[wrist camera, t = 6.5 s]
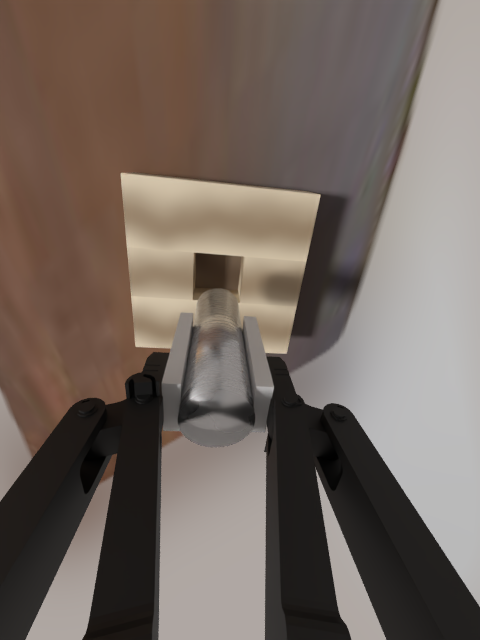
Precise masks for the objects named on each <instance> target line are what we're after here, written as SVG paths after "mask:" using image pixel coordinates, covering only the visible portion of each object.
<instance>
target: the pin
mask: <svg viewBox="0 0 480 640" xmlns="http://www.w3.org/2000/svg"><path fill="white" fill-rule="evenodd" d="M254 424H255V411H254V404H253V398H252V391H251V384H250V378H249V371H248V365H247V358H246V351H245V345H244V338H243V332H242V325H241V318H240V312H239V305H238V301H237V299H236V297H235V296H234V295H233V294H232V293H231V292H230V291H228V290H225V289H222V288H213V289H209V290H207V291H205V292H204V293H203V294H202V295H201V296H200V297H199V299H198V301H197V305H196V311H195V317H194V323H193V330H192V336H191V342H190V348H189V354H188V360H187V366H186V372H185V378H184V384H183V390H182V396H181V403H180V407H179V413H178V426H179V429H180V431H181V432H182V434H183V435H184V436H185V437H186V438H187V439H189V440H190V441H192V442H194V443H196V444H198V445H202V446H206V447H224V446H229V445H232V444H235V443H237V442H239V441H241V440H242V439H244V438H245V437H246V436H247V435H248V434H249V433H250V432H251V431H252V429H253V427H254Z"/></svg>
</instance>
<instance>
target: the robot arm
mask: <svg viewBox="0 0 480 640" xmlns="http://www.w3.org/2000/svg"><path fill="white" fill-rule="evenodd" d="M192 330H193V313H184V312H181V313H180V317H179V321H178V324H177V328H176V332H175V335H174V339H173V343H172V347H171V350H170V353H160V352H153V353H152V354H151V355H150V356H149V357H148V358H147V360H146V363H145V366H144V368H143V371H142V373H137V374H134V375H132V376H131V377H129V378H128V379H127V381H126V383H125V388H126V397H127V399H125V400H123V401H121V402H117V403H113V404H108V405H105V402H104V401H102V400H101V399H98V398H87V399H84V400H81V401H79V402H77V403H75V404H74V405H73V406H72V407H71V408H70V409H69V410H68V412H67V413H66V414H65V416H64V417H63V418H62V420H61V421H60V422H59V424H58V425H57V426H56V428H55V429H54V430H53V432H52V433H51V434H50V436H49V437H48V438H47V440H46V441H45V442H44V444H43V445H42V446H41V448H40V449H39V450H38V452H37V453H36V454H35V456H34V457H33V458H32V460H31V461H30V462H29V464H28V465H27V467H26V468H25V469H24V470H23V472H22V473H21V474H20V476H19V477H18V478H17V480H16V481H15V483H14V484H13V485H12V487H11V488H10V489H9V491H8V492H7V493H6V495H5V496H4V497H3V499H2V500H1V502H0V640H25V639H26V637H27V635H28V632H29V631H30V628H31V626H32V624H33V622H34V620H35V618H36V615H37V614H38V611H39V609H40V607H41V605H42V603H43V601H44V599H45V597H46V594H47V592H48V590H49V587H50V586H51V584H52V582H53V580H54V577H55V575H56V573H57V571H58V569H59V566H60V565H61V563H62V561H63V558H64V556H65V554H66V552H67V550H68V548H69V546H70V544H71V541H72V539H73V537H74V535H75V533H76V531H77V528H78V527H79V524H80V522H81V520H82V518H83V516H84V514H85V512H86V510H87V507H88V505H89V503H90V501H91V499H92V497H93V495H94V493H95V490H96V488H97V486H98V484H99V482H100V480H101V478H102V476H103V473H104V471H105V469H106V467H107V465H108V463H109V461H110V459H111V456H112V455H113V454H116V453H117V459H116V465H115V471H114V477H113V483H112V489H111V495H110V500H109V507H108V513H107V518H106V524H105V530H104V536H103V542H102V547H101V553H100V560H99V565H98V571H97V577H96V583H95V589H94V595H93V601H92V606H91V612H90V618H89V623H88V628H87V631H86V634H85V636H84V637H83V639H82V640H158V628H159V626H158V625H159V567H160V508H161V449H162V435H161V431H162V427H163V431H180V429H179V426H178V413H179V407H180V403H181V396H182V390H183V384H184V378H185V372H186V366H187V360H188V354H189V348H190V342H191V336H192ZM242 332H243V338H244V345H245V351H246V358H247V365H248V371H249V378H250V384H251V391H252V398H253V404H254V411H255V424H254V427H253V429H252V431H251V432H265V430H266V425H267V428H268V436H267V441H266V446H265V451H264V452H266V454H267V456H266V579H265V582H266V583H265V640H351V637H350V634H349V631H348V628H347V626H346V624H345V623H344V622H343V620H342V619H341V617H340V614H339V611H338V606H337V600H336V595H335V588H334V582H333V576H332V570H331V563H330V557H329V551H328V544H327V538H326V532H325V526H324V520H323V514H322V507H321V501H320V495H319V489H318V482H317V476H316V470H317V472H318V475H319V477H320V480H321V482H322V484H323V487H324V489H325V492H326V494H327V497H328V499H329V501H330V504H331V506H332V508H333V511H334V513H335V516H336V518H337V521H338V523H339V525H340V528H341V530H342V533H343V535H344V538H345V540H346V543H347V545H348V547H349V550H350V552H351V555H352V557H353V560H354V562H355V564H356V567H357V569H358V572H359V574H360V576H361V579H362V581H363V584H364V586H365V588H366V591H367V593H368V596H369V598H370V601H371V603H372V606H373V608H374V610H375V613H376V615H377V618H378V620H379V623H380V625H381V627H382V630H383V632H384V635H385V637H386V639H387V640H480V607H479V605H478V604H477V602H476V601H475V599H474V598H473V596H472V595H471V593H470V592H469V590H468V589H467V587H466V585H465V584H464V582H463V581H462V579H461V578H460V577H459V575H458V573H457V572H456V570H455V569H454V567H453V566H452V564H451V563H450V561H449V560H448V558H447V557H446V555H445V553H444V552H443V550H442V549H441V547H440V546H439V544H438V543H437V541H436V540H435V538H434V537H433V535H432V534H431V532H430V531H429V529H428V528H427V526H426V524H425V523H424V522H423V520H422V518H421V517H420V516H419V514H418V512H417V511H416V509H415V508H414V506H413V505H412V503H411V502H410V500H409V499H408V497H407V496H406V494H405V493H404V491H403V489H402V488H401V486H400V485H399V483H398V482H397V480H396V479H395V477H394V476H393V474H392V473H391V471H390V470H389V468H388V467H387V465H386V464H385V462H384V461H383V459H382V457H381V456H380V455H379V453H378V451H377V450H376V448H375V447H374V446H373V444H372V442H371V441H370V439H369V438H368V436H367V435H366V433H365V432H364V430H363V429H362V427H361V426H360V424H359V423H358V421H357V419H356V418H355V416H354V415H353V413H352V412H351V411H350V410H349V409H347V408H346V407H344V406H342V405H339V404H334V403H331V404H327V405H326V406H325V407H324V409H323V410H322V409H318V408H315V407H311V406H309V405H307V404H305V403H304V400H303V399H302V398H301V397H300V396H299V395H297V394H296V392H295V389H294V386H293V383H292V381H291V378H290V376H289V372H288V370H287V366H286V364H285V362H284V361H283V360H282V359H281V358H280V357H266V354H265V350H264V346H263V342H262V338H261V335H260V331H259V327H258V323H257V319H256V317H252V316H244V320H243V328H242ZM315 467H316V470H315Z"/></svg>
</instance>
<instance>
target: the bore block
mask: <svg viewBox="0 0 480 640" xmlns="http://www.w3.org/2000/svg"><path fill="white" fill-rule="evenodd" d="M121 183H122V194H123V206H124V218H125V229H126V241H127V252H128V264H129V275H130V287H131V299H132V310H133V322H134V333H135V345H136V347H152V348H171V347H172V343H173V339H174V335H175V332H176V328H177V324H178V321H179V317H180V313H181V312H184V313H193V323H194V317H195V311H196V305H197V301H198V299H199V297H200V296H201V295H202V294H203V293H204V292H205V291H207V290H209V289H213V288H222V289H225V290H228V291H230V292H231V293H232V294H233V295H234V296H235V297H236V299H237V301H238V305H239V312H240V318H241V325H242V328H243V320H244V316H252V317H256V319H257V323H258V327H259V331H260V335H261V338H262V342H263V346H264V350H265V353H283V354H287V349H288V345H289V340H290V335H291V331H292V326H293V321H294V317H295V312H296V308H297V303H298V298H299V294H300V289H301V284H302V280H303V275H304V270H305V266H306V261H307V256H308V252H309V247H310V242H311V238H312V233H313V228H314V224H315V219H316V214H317V210H318V205H319V201H320V196H321V195H320V194H316V193H312V192H308V191H299V190H290V189H281V188H272V187H263V186H254V185H245V184H235V183H226V182H217V181H208V180H199V179H190V178H181V177H171V176H162V175H153V174H144V173H135V172H133V173H121Z"/></svg>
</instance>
